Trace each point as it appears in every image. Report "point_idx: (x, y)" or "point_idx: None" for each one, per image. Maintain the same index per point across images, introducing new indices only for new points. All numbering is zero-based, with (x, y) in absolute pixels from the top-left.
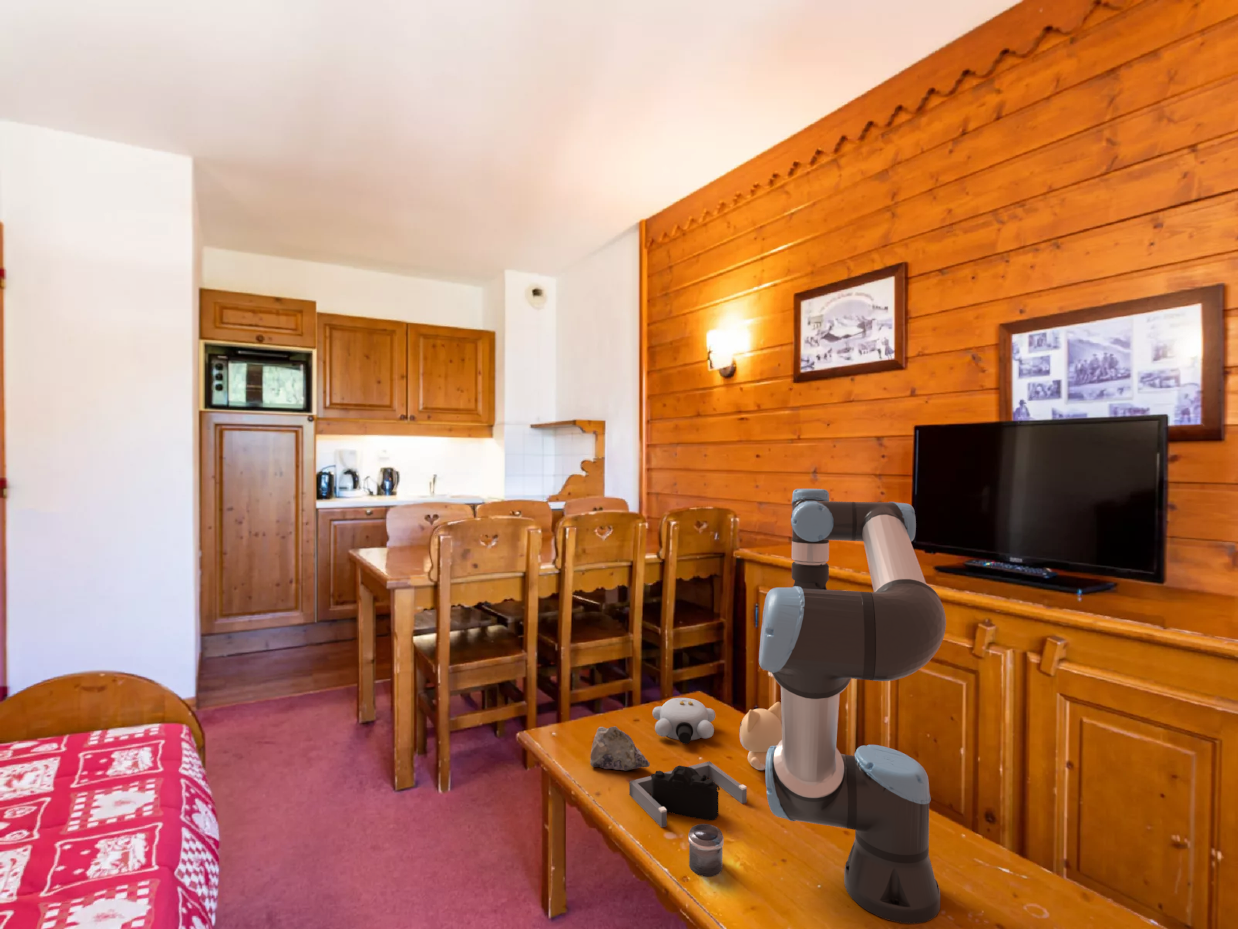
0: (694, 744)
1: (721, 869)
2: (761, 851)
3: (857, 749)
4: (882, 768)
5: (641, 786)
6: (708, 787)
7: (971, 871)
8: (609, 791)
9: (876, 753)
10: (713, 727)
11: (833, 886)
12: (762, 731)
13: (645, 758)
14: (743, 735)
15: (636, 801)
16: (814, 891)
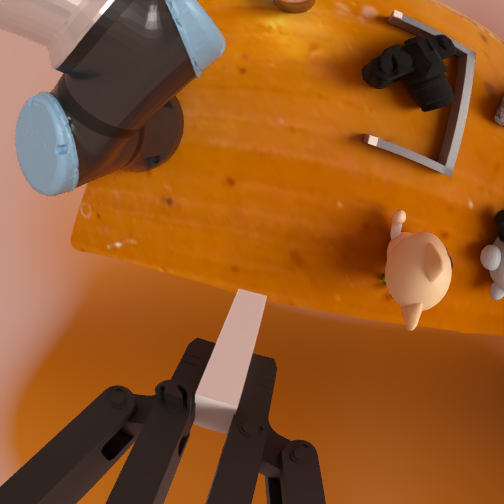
0: (489, 231)
1: (275, 3)
2: (272, 62)
3: (53, 116)
4: (23, 108)
5: (464, 60)
6: (378, 57)
7: (126, 220)
8: (482, 49)
9: (42, 139)
10: (484, 266)
11: None
12: (409, 255)
13: (501, 111)
14: (434, 238)
15: None
16: None
